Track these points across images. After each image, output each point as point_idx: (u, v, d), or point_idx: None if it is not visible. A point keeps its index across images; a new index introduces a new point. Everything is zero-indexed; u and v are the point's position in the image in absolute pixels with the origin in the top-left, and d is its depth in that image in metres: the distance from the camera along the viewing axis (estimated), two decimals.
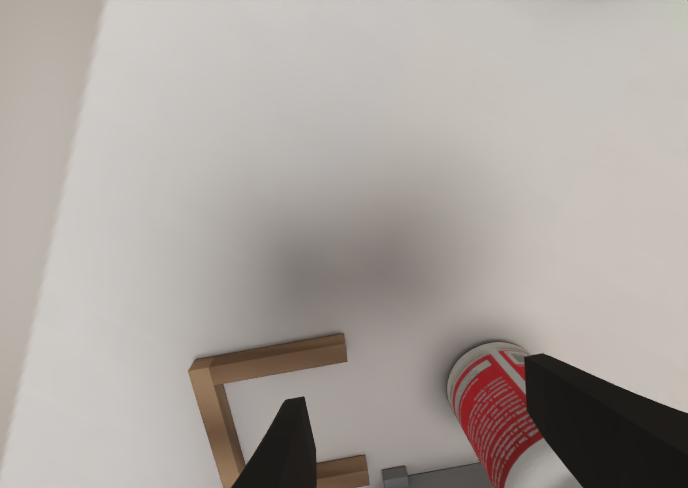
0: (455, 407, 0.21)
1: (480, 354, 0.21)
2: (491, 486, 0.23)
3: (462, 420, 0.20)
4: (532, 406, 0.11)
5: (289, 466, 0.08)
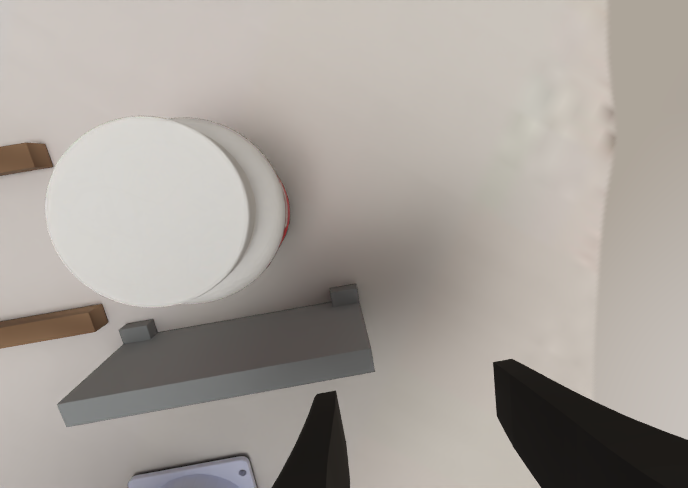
0: None
1: None
2: (234, 331, 0.19)
3: None
4: (501, 412, 0.11)
5: (331, 458, 0.08)
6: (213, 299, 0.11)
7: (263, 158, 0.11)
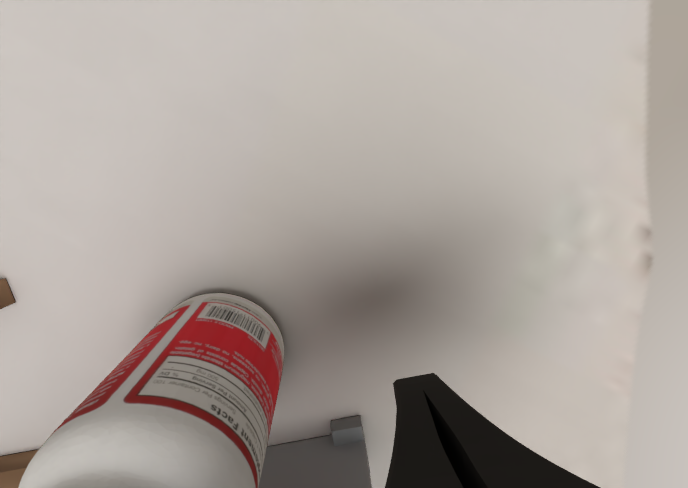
0: None
1: (182, 305, 0.15)
2: None
3: None
4: None
5: None
6: None
7: (226, 466, 0.09)
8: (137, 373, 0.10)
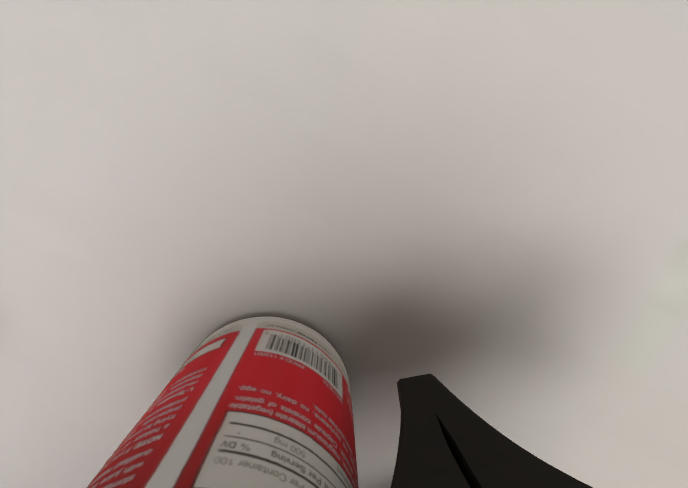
0: None
1: (228, 330, 0.11)
2: None
3: None
4: None
5: None
6: None
7: None
8: (184, 440, 0.07)
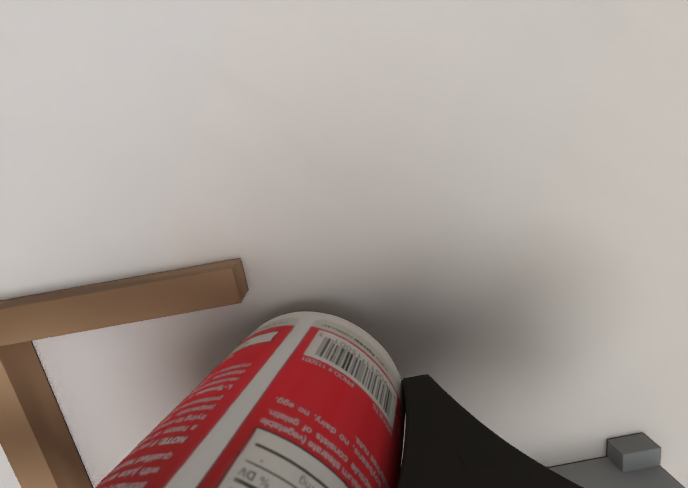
0: None
1: (283, 321, 0.11)
2: None
3: None
4: None
5: None
6: None
7: None
8: (203, 453, 0.06)
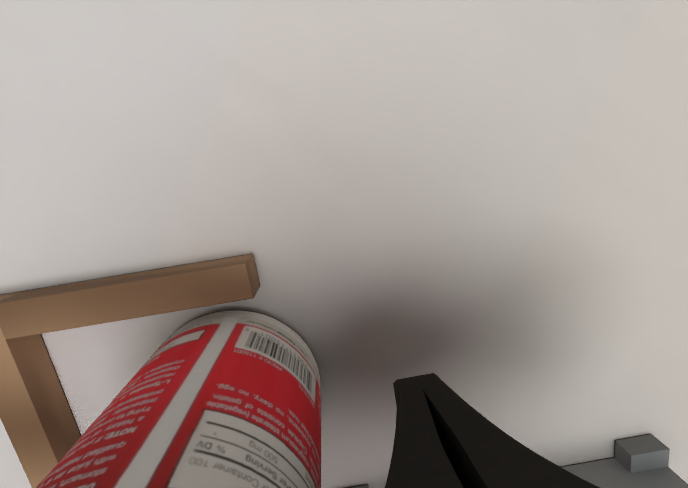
0: None
1: (207, 321, 0.11)
2: None
3: None
4: None
5: None
6: None
7: None
8: (160, 435, 0.07)
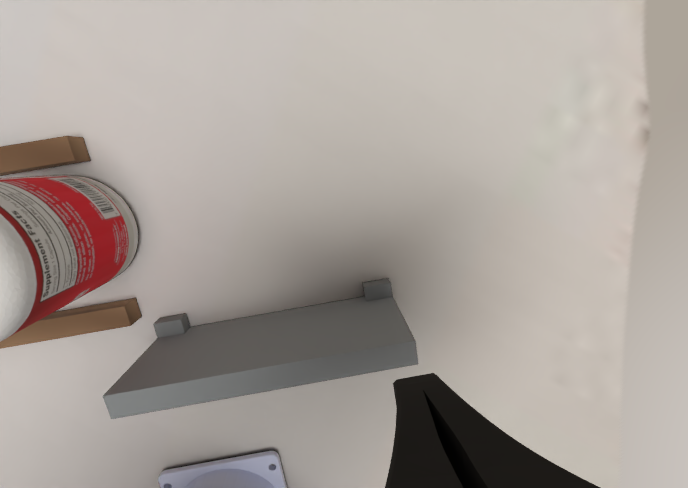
0: None
1: None
2: (270, 325, 0.19)
3: None
4: None
5: None
6: None
7: (4, 245, 0.11)
8: None
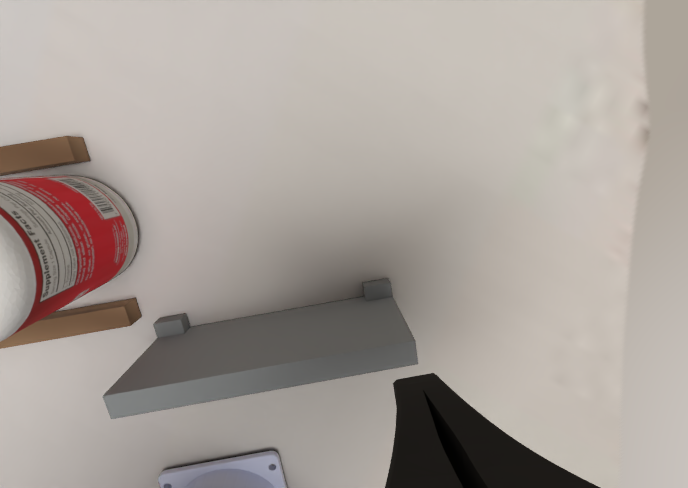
0: None
1: None
2: (269, 325, 0.19)
3: None
4: None
5: None
6: None
7: (3, 245, 0.11)
8: None
